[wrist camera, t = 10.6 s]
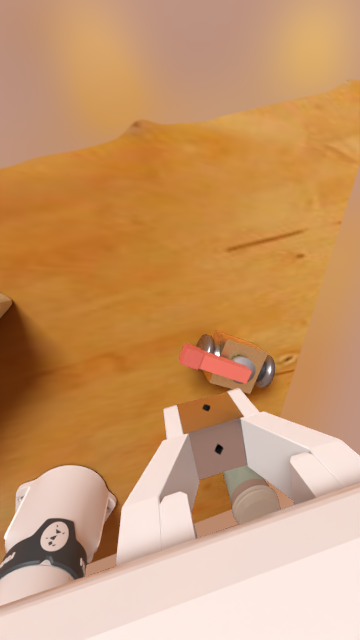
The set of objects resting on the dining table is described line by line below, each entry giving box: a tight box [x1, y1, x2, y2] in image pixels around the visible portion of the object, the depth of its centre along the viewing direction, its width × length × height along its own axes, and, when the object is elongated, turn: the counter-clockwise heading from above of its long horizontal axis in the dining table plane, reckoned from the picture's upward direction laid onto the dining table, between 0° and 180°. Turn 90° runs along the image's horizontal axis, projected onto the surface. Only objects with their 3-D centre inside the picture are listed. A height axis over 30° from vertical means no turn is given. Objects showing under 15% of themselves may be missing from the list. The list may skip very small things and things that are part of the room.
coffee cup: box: [223, 465, 281, 524], centre depth 42 cm, size 8×8×12 cm
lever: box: [179, 343, 255, 384], centre depth 34 cm, size 13×4×4 cm, turn 68°
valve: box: [196, 331, 275, 394], centre depth 40 cm, size 8×13×6 cm, turn 70°
